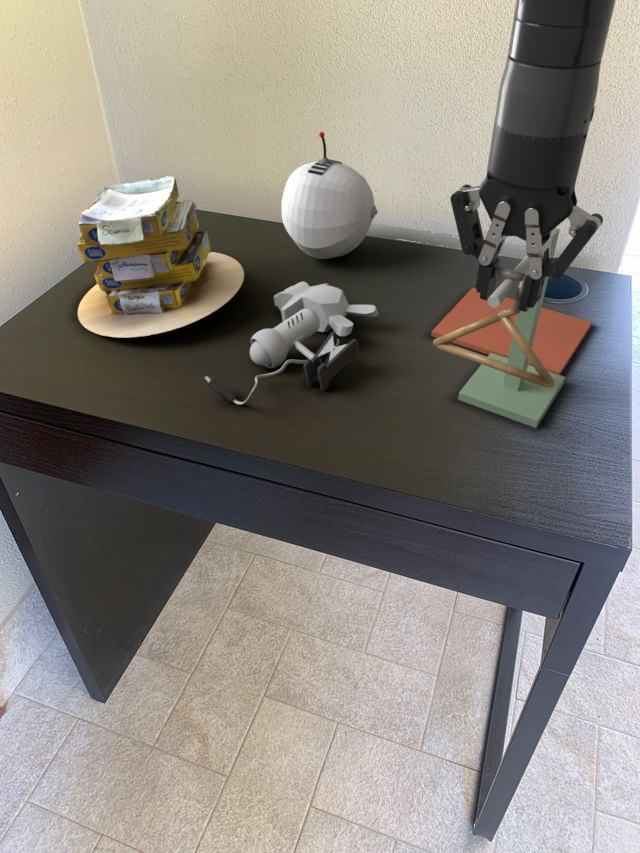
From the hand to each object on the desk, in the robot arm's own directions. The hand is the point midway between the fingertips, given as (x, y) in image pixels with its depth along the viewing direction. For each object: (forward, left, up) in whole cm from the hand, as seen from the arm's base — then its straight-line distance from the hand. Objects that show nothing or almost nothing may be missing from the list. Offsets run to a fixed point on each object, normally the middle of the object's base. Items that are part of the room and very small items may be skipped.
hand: (506, 301), depth 67 cm
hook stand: (0, -6, -18) cm, 19 cm away
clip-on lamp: (+26, +3, -18) cm, 32 cm away
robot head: (+39, -29, -18) cm, 52 cm away
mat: (+5, -23, -18) cm, 30 cm away
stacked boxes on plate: (+52, -3, -18) cm, 55 cm away
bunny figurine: (+29, -11, -18) cm, 36 cm away
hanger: (0, 0, -8) cm, 8 cm away
